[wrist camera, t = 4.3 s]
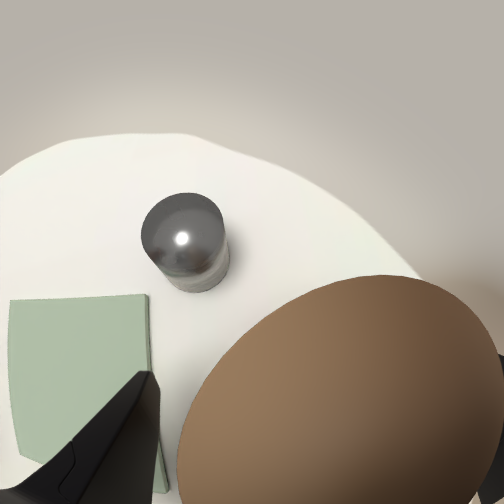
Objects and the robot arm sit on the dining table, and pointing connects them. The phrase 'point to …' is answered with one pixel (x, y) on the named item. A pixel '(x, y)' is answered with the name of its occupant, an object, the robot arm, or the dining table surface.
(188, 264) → the cylinder
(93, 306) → the mat
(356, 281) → the walnut post
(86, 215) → the dining table surface
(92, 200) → the dining table surface
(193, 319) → the dining table surface
